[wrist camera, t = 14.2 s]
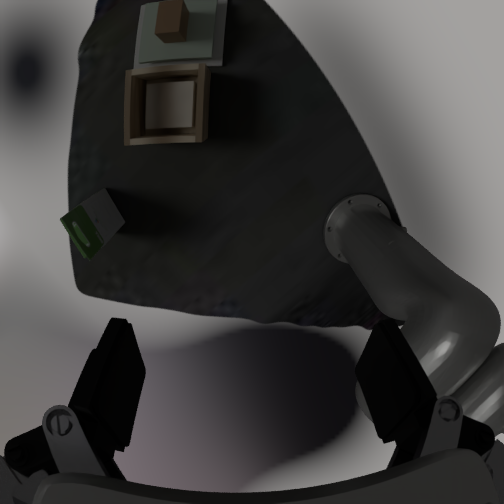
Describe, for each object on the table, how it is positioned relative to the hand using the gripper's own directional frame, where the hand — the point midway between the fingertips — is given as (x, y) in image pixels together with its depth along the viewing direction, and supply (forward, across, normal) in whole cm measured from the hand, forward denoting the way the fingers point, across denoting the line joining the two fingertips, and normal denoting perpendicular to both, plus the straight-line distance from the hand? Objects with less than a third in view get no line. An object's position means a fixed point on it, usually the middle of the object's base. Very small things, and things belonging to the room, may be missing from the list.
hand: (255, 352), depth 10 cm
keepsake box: (+33, +10, -10) cm, 36 cm away
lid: (+32, +10, -22) cm, 40 cm away
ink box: (+34, +22, +6) cm, 41 cm away
